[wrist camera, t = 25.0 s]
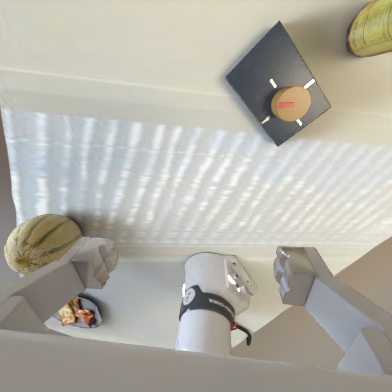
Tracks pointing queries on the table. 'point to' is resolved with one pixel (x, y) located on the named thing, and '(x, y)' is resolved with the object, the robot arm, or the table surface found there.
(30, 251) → the cantaloupe
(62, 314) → the food plate
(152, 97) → the table surface
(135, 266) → the table surface
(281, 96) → the tan cylinder
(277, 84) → the grey dial panel
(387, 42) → the sauce bottle
